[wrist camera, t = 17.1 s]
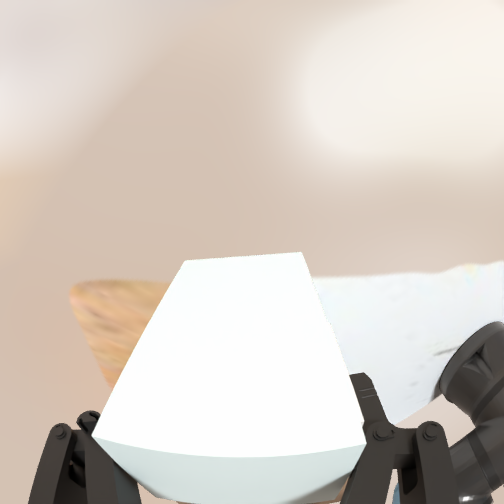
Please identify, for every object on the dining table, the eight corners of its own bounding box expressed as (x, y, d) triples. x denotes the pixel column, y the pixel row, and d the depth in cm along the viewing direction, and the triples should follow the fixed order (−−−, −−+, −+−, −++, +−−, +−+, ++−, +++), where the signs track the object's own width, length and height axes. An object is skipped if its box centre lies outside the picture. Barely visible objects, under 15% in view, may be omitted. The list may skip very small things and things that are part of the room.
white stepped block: (185, 260, 19) (91, 435, 6) (301, 252, 19) (366, 443, 5) (229, 437, 27) (220, 540, 14) (297, 434, 27) (306, 538, 14)
